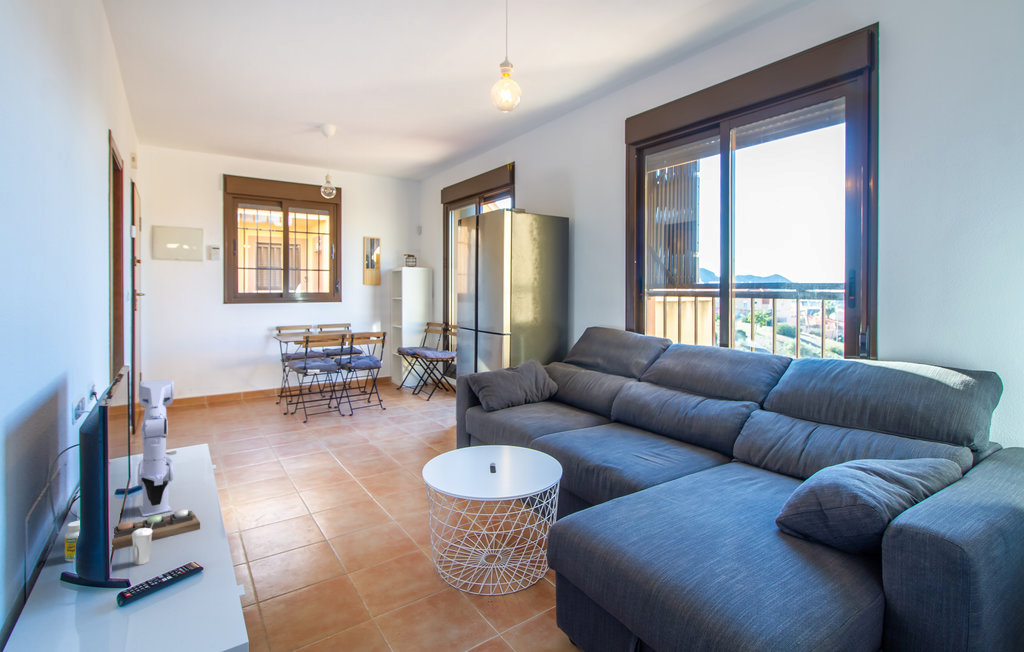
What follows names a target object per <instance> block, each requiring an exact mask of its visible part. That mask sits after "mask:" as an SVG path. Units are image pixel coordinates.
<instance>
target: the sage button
mask: <svg viewBox="0 0 1024 652" xmlns="http://www.w3.org/2000/svg"><path fill="white" fill-rule="evenodd" d="M161 518H162V515H161V514H154V515H150V516H147V518H146V520H147V524H148V525H151V524H152V522H154V523H153V524H155V523H160V522H161Z"/></svg>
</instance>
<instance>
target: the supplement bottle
mask: <svg viewBox="0 0 1024 652" xmlns="http://www.w3.org/2000/svg"><path fill="white" fill-rule="evenodd" d="M79 530H80V520H75V521H72V522H69V523H68V524H67V531H66V533H65V534H64V560H65V561H66V562H76V561H75V558H74V555H75V544H76V541H77V538H78V536H79ZM65 557H67V558H65Z"/></svg>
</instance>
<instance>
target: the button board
mask: <svg viewBox="0 0 1024 652" xmlns="http://www.w3.org/2000/svg"><path fill="white" fill-rule="evenodd" d="M161 516H162V515H161ZM151 525H152V524H151ZM151 525H148V524H147V519H143V520H142V521H138V522H136V521H133V528H132V529H128V530H124V531H118V525H117V526H114V527H115V528H114V527H113V528H114V534H115V535H114V538H113V539H112V545H113V547H112V550H111V551H115V550H119V549H122V548H127V547H131V546H132V547H133V542H132V533H133V532H134V531H136V530H137V529H140V528H151ZM200 529H201V522H200V520H199V518H197V516H196V514H195V513H194V512H193V510H188V516H186V517H182V518H177V519H175V518H174V513H173V514H171V513H170V514H169V515H167V516H162V518H161V522H160V523H155V524H153V526H152V530H153V532H152V539H151V542H152V541H155V540H160V539H164V538H168V537H172V536H177V535H181V534H185V533H189V532H190V533H191V532H193V531H197V530H200Z"/></svg>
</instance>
